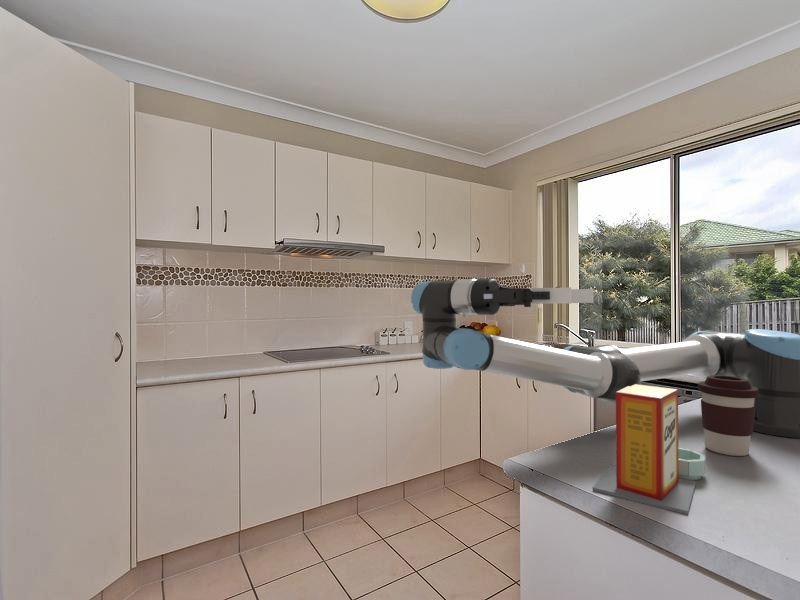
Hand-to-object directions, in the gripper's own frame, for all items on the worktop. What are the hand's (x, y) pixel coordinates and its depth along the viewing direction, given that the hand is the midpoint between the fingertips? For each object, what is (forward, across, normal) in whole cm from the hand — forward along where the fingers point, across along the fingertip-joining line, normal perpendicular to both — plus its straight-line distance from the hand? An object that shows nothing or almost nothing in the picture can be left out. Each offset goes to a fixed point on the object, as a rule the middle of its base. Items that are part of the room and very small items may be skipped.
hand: (582, 295), depth 78 cm
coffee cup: (+20, -30, -32) cm, 48 cm away
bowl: (+14, -10, -32) cm, 36 cm away
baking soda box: (+10, 0, -32) cm, 33 cm away
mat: (+10, 0, -32) cm, 33 cm away
